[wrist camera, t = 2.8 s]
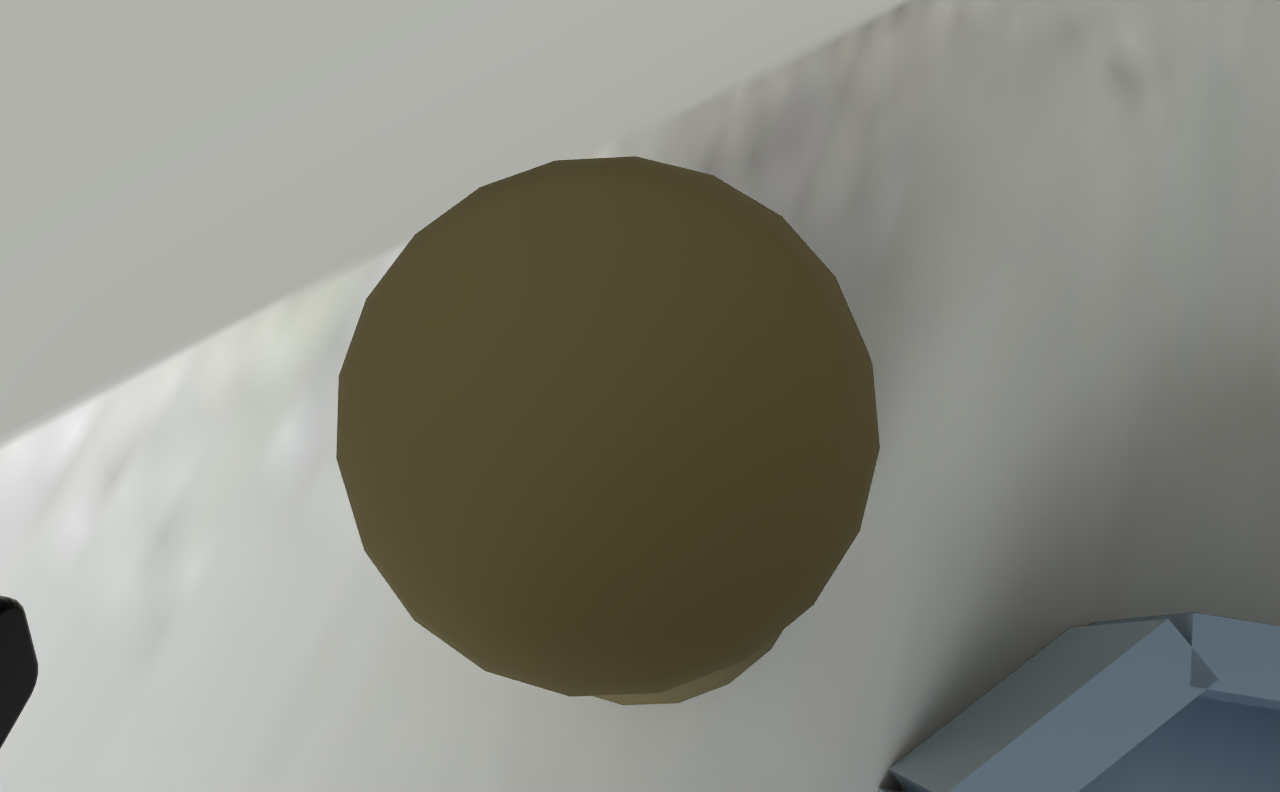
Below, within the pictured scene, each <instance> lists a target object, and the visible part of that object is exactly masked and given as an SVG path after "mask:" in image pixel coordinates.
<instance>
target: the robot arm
mask: <svg viewBox="0 0 1280 792" xmlns="http://www.w3.org/2000/svg"><path fill="white" fill-rule="evenodd" d="M37 676H38V662H37V658H36V654H35V650H34V646H33V642H32V638H31V634H30V630H29V626H28V623H27V619H26V615H25V611H24V609H23V607H22V605H21V604H20V603H19V602H18V601H17V600H15V599H12V598H9V597H4V596H0V748H1V747H2V745H3V743H4V741H5V740H6V738H7V736H8V734H9V733H10V731H11V729H12V727H13V726H14V724H15V722H16V720H17V719H18V717H19V715H20V713H21V712H22V710H23V708H24V706H25V705H26V703H27V701H28V700H29V698H30V696H31V694H32V692H33V689H34V687H35V684H36V680H37Z"/></svg>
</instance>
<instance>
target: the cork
mask: <svg viewBox="0 0 1280 792" xmlns="http://www.w3.org/2000/svg"><path fill="white" fill-rule="evenodd" d="M879 448H880V446H879V435H878V424H877V412H876V401H875V390H874V379H873V368H872V362H871V359H870V356H869V353H868V351H867V348H866V346H865V344H864V342H863V339H862V337H861V335H860V332H859V330H858V328H857V325H856V323H855V321H854V319H853V316H852V314H851V312H850V309H849V307H848V305H847V303H846V300H845V298H844V296H843V293H842V291H841V289H840V286H839V284H838V282H837V280H836V277H835V276H834V275H833V274H832V273H831V271H830V270H829V269H828V268H827V267H826V266H825V265H824V263H823V262H822V261H821V260H820V259H819V258H818V257H817V256H816V254H815V253H814V252H813V251H812V250H811V249H810V248H809V247H808V245H807V244H806V243H805V242H804V241H803V240H802V239H801V238H800V236H799V235H798V234H797V233H796V232H795V231H794V230H793V229H792V227H791V226H790V225H789V224H788V223H787V222H786V221H785V220H784V218H783V217H782V216H780V215H778V214H777V213H775V212H773V211H772V210H770V209H768V208H767V207H765V206H763V205H762V204H760V203H758V202H757V201H755V200H753V199H752V198H750V197H748V196H747V195H745V194H743V193H742V192H740V191H738V190H737V189H735V188H733V187H732V186H730V185H728V184H727V183H725V182H723V181H721V180H720V179H718V178H716V177H715V176H713V175H709V174H705V173H701V172H697V171H693V170H689V169H684V168H680V167H676V166H672V165H668V164H664V163H660V162H656V161H652V160H648V159H644V158H640V157H616V158H597V159H578V160H558V161H553V162H550V163H547V164H545V165H542V166H539V167H536V168H533V169H531V170H528V171H525V172H522V173H519V174H516V175H514V176H511V177H508V178H505V179H503V180H499V181H497V182H494V183H491V184H488V185H486V186H483V187H480V188H479V189H477V190H476V191H474V192H473V193H472V194H470V195H469V196H468V197H466V198H465V199H464V200H462V201H461V202H459V203H458V204H457V205H455V206H454V207H452V208H451V209H450V210H448V211H447V212H446V213H444V214H443V215H441V216H440V217H439V218H437V219H436V220H435V221H433V222H432V223H431V224H429V225H428V226H426V227H425V228H424V229H422V230H421V231H419V232H418V233H417V234H415V235H414V237H413V238H412V239H411V241H410V242H409V243H408V245H407V246H406V247H405V249H404V250H403V251H402V253H401V254H400V255H399V257H398V258H397V259H396V261H395V262H394V263H393V265H392V266H391V267H390V269H389V270H388V271H387V273H386V274H385V275H384V276H383V278H382V279H381V280H380V282H379V283H378V284H377V286H376V287H375V288H374V290H373V291H372V292H371V294H370V295H369V296H368V298H367V299H366V301H365V304H364V307H363V310H362V313H361V315H360V318H359V321H358V324H357V327H356V329H355V332H354V335H353V338H352V341H351V344H350V346H349V349H348V352H347V355H346V358H345V360H344V363H343V366H342V369H341V372H340V374H339V391H338V425H337V461H338V465H339V468H340V471H341V475H342V478H343V481H344V484H345V488H346V491H347V494H348V498H349V501H350V504H351V508H352V511H353V514H354V518H355V521H356V524H357V528H358V531H359V534H360V537H361V541H362V544H363V547H364V550H365V552H366V553H367V555H368V556H369V558H370V559H371V560H372V562H373V563H374V565H375V566H376V567H377V569H378V570H379V572H380V573H381V574H382V576H383V577H384V579H385V580H386V581H387V583H388V584H389V586H390V587H391V588H392V590H393V591H394V593H395V594H396V595H397V597H398V598H399V600H400V601H401V602H402V604H403V605H404V607H405V608H406V609H407V611H408V612H409V614H410V615H411V616H412V618H413V619H414V620H415V621H416V622H417V623H419V624H420V625H422V626H423V627H424V628H426V629H427V630H429V631H430V632H431V633H433V634H434V635H436V636H437V637H438V638H440V639H441V640H443V641H444V642H445V643H447V644H448V645H450V646H451V647H452V648H454V649H455V650H457V651H458V652H459V653H461V654H462V655H464V656H465V657H466V658H468V659H469V660H471V661H472V662H473V663H475V664H476V665H478V666H479V667H480V668H482V669H483V670H485V671H487V672H490V673H494V674H497V675H500V676H504V677H507V678H510V679H514V680H517V681H520V682H524V683H527V684H530V685H534V686H537V687H540V688H544V689H547V690H551V691H554V692H557V693H561V694H564V695H567V696H595V697H598V698H601V699H605V700H608V701H611V702H615V703H618V704H622V705H638V704H666V703H679V702H682V701H685V700H687V699H690V698H692V697H695V696H698V695H700V694H703V693H706V692H708V691H711V690H714V689H716V688H719V687H722V686H724V685H727V684H729V683H730V682H732V681H733V680H734V679H735V678H736V677H738V676H739V675H740V674H741V673H743V672H744V671H745V670H746V669H747V668H749V667H750V666H751V665H752V664H754V663H755V662H756V661H757V660H758V659H760V658H761V657H762V656H763V655H764V654H766V653H767V652H768V651H769V650H771V648H772V647H773V645H774V644H775V642H776V640H777V639H778V637H779V636H780V634H781V632H782V631H783V629H784V628H786V627H787V626H788V625H789V624H790V623H792V622H793V621H794V620H795V619H797V618H798V617H799V616H800V615H801V614H803V613H804V612H805V611H806V610H808V609H809V608H810V607H811V606H812V605H813V604H814V603H815V601H816V600H817V598H818V596H819V595H820V593H821V592H822V590H823V588H824V587H825V585H826V584H827V582H828V580H829V579H830V577H831V576H832V574H833V573H834V571H835V569H836V568H837V566H838V565H839V563H840V561H841V560H842V558H843V557H844V555H845V553H846V552H847V550H848V549H849V547H850V545H851V544H852V542H853V541H854V539H855V537H856V536H857V534H858V533H859V531H860V527H861V523H862V519H863V515H864V511H865V507H866V502H867V498H868V494H869V490H870V486H871V482H872V477H873V473H874V469H875V465H876V461H877V457H878V452H879Z"/></svg>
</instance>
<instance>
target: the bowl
mask: <svg viewBox="0 0 1280 792" xmlns="http://www.w3.org/2000/svg"><path fill="white" fill-rule="evenodd" d="M889 770H890V771H891V773H892V774H893V775H894V777H895V778H896V779H897V781H898V782H899V783H900V785H901V786H902V787H903V791H902V792H1280V626H1276V625H1270V624H1264V623H1257V622H1251V621H1245V620H1238V619H1232V618H1225V617H1219V616H1213V615H1206V614H1200V613H1183V614H1173V615H1163V616H1153V617H1143V618H1133V619H1123V620H1112V621H1102V622H1092V623H1091V624H1090V626H1082V627H1071V628H1069V629H1068V630H1067V631H1065V632H1064V633H1063V634H1062V635H1060V636H1059V637H1058V638H1056V639H1055V640H1054V641H1053V642H1051V643H1050V644H1049V645H1047V646H1046V647H1045V648H1044V649H1042V650H1041V651H1040V652H1038V653H1037V654H1036V655H1035V656H1033V657H1032V658H1031V659H1029V660H1028V661H1027V662H1026V663H1024V664H1023V665H1022V666H1020V667H1019V668H1018V669H1017V670H1015V671H1014V672H1013V673H1011V674H1010V675H1009V676H1008V677H1006V678H1005V679H1004V680H1002V681H1001V682H1000V683H999V684H997V685H996V686H995V687H993V688H992V689H991V690H990V691H988V692H987V693H986V694H984V695H983V696H982V697H981V698H979V699H978V700H977V701H975V702H974V703H973V704H972V705H970V706H969V707H968V708H966V709H965V710H964V711H963V712H961V713H960V714H959V715H957V716H956V717H955V718H954V719H952V720H951V721H950V722H949V723H947V724H946V725H945V726H943V727H942V728H941V729H940V730H938V731H937V732H936V733H934V734H933V735H932V736H931V737H929V738H928V739H927V740H925V741H924V742H923V743H922V744H920V745H919V746H918V747H916V748H915V749H914V750H913V751H911V752H910V753H909V754H907V755H906V756H905V757H904V758H902V759H901V760H900V761H898V762H897V763H896V764H895V765H893V766H892V767H891V768H889ZM878 792H899V791H893V790H887V789H881V788H878Z"/></svg>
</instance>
